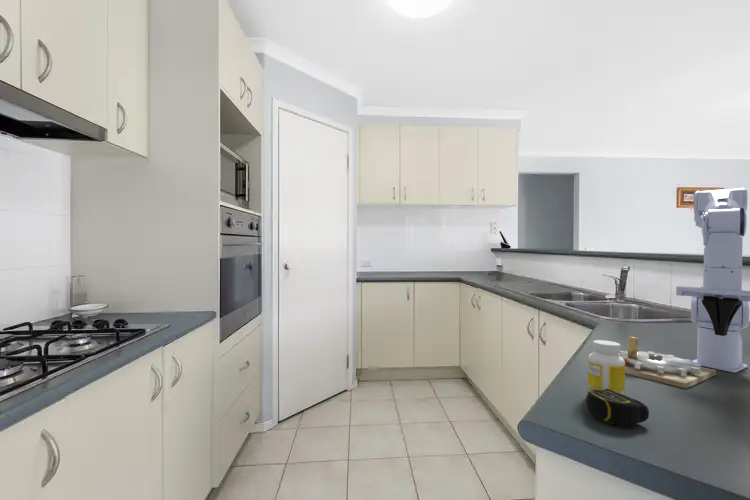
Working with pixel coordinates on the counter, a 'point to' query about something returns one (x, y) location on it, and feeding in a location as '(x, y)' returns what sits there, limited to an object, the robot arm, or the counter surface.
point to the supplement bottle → (606, 367)
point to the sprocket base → (672, 376)
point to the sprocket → (657, 361)
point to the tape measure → (616, 408)
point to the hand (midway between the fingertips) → (720, 334)
